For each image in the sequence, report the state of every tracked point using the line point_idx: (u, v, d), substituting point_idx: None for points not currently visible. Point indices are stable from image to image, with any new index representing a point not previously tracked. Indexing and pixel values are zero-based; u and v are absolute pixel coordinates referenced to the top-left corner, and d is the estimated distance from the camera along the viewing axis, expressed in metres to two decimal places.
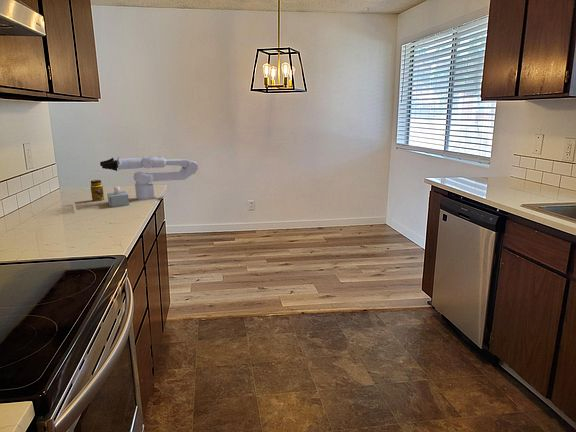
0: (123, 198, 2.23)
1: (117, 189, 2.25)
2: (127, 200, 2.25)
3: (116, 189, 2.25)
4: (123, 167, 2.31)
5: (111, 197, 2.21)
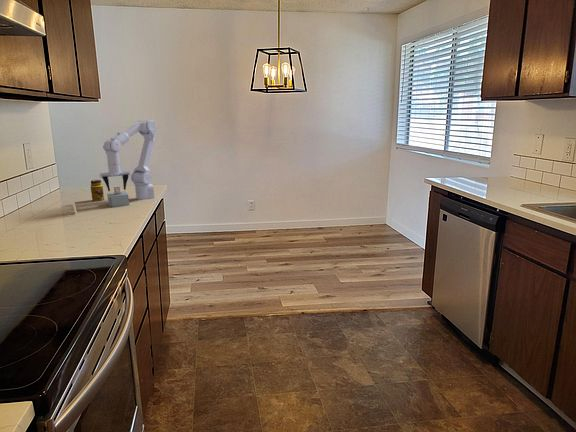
0: (123, 198, 2.23)
1: (117, 189, 2.25)
2: (127, 200, 2.25)
3: (116, 189, 2.25)
4: None
5: (111, 197, 2.21)
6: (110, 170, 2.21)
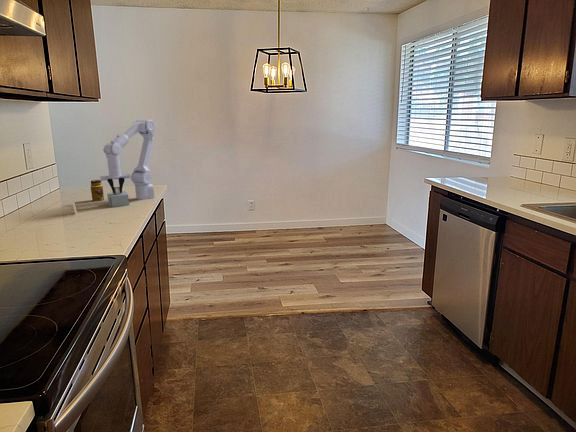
0: (123, 198, 2.23)
1: (117, 189, 2.25)
2: (127, 200, 2.25)
3: (116, 189, 2.25)
4: None
5: (111, 197, 2.21)
6: (110, 173, 2.21)
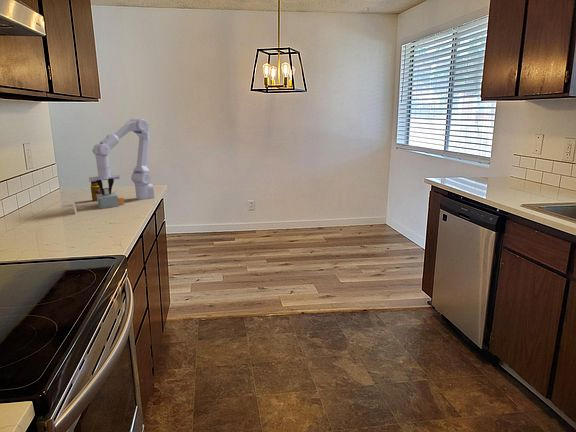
0: (112, 199, 2.21)
1: (106, 190, 2.22)
2: (116, 201, 2.22)
3: (105, 190, 2.22)
4: None
5: (100, 198, 2.18)
6: (99, 174, 2.19)
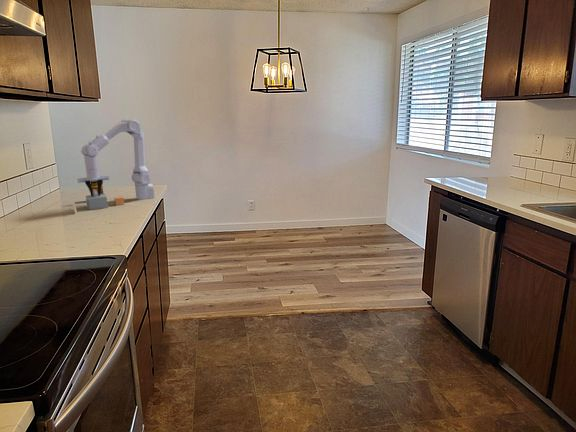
0: (101, 200, 2.19)
1: (95, 191, 2.20)
2: (105, 202, 2.20)
3: (94, 191, 2.20)
4: None
5: (89, 199, 2.16)
6: (88, 175, 2.17)
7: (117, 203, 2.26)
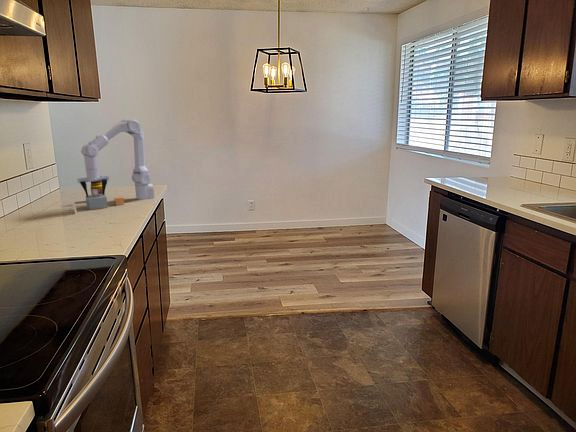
0: (101, 200, 2.19)
1: (95, 191, 2.20)
2: (105, 202, 2.20)
3: (94, 191, 2.20)
4: None
5: (88, 199, 2.16)
6: (88, 175, 2.16)
7: (117, 203, 2.26)
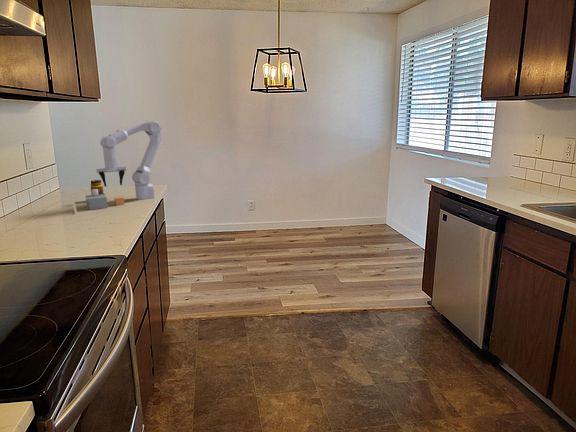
0: (101, 200, 2.19)
1: (95, 191, 2.20)
2: (105, 202, 2.20)
3: (94, 191, 2.20)
4: None
5: (88, 199, 2.16)
6: (106, 166, 2.24)
7: (117, 203, 2.26)
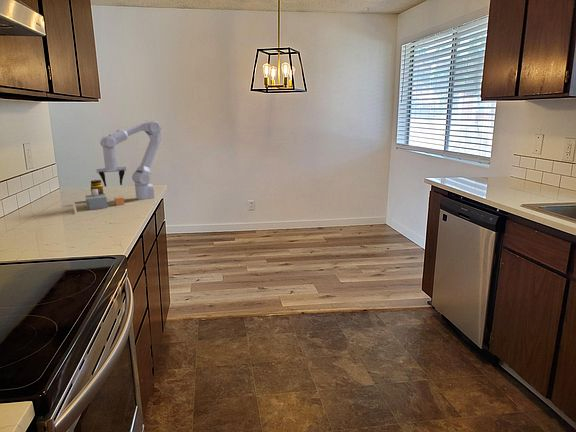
0: (101, 200, 2.19)
1: (95, 191, 2.20)
2: (105, 202, 2.20)
3: (94, 191, 2.20)
4: None
5: (88, 199, 2.16)
6: (106, 166, 2.24)
7: (117, 203, 2.26)
